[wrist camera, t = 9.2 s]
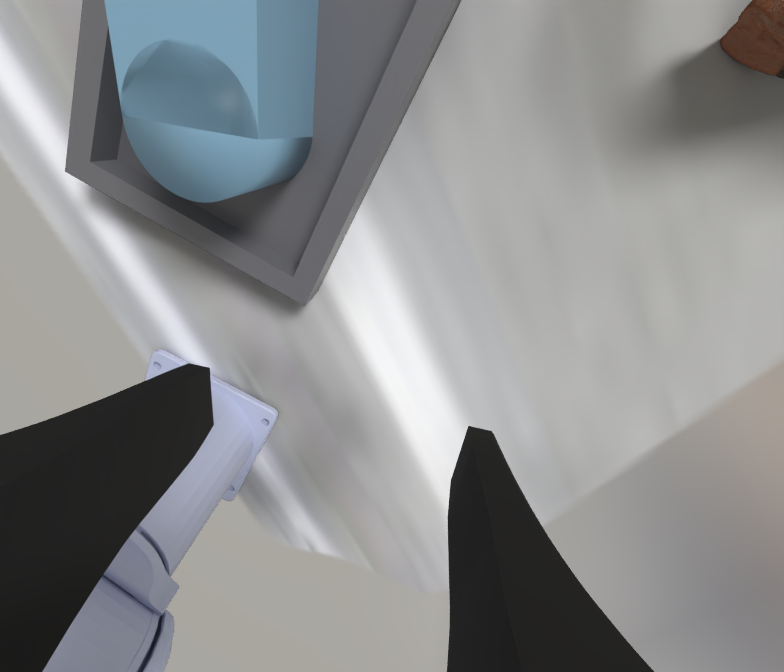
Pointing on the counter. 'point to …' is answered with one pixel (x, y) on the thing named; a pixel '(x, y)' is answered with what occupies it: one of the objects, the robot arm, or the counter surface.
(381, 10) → the tray
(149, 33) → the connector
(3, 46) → the counter surface
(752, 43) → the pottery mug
